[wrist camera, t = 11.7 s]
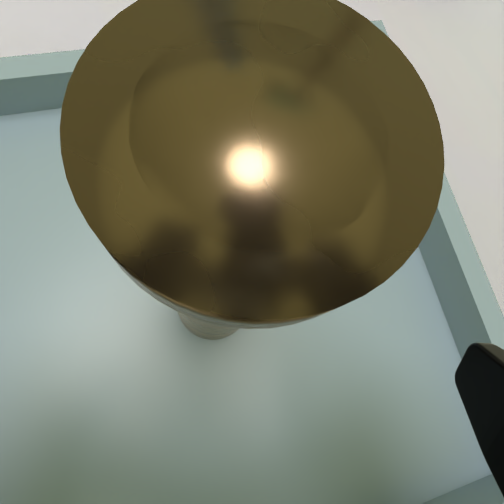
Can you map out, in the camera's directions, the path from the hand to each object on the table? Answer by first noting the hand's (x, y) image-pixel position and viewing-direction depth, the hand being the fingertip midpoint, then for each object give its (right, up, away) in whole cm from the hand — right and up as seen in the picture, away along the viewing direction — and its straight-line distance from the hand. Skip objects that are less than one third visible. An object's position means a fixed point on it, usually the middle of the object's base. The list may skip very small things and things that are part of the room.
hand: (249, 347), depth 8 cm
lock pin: (-2, 0, +9) cm, 10 cm away
